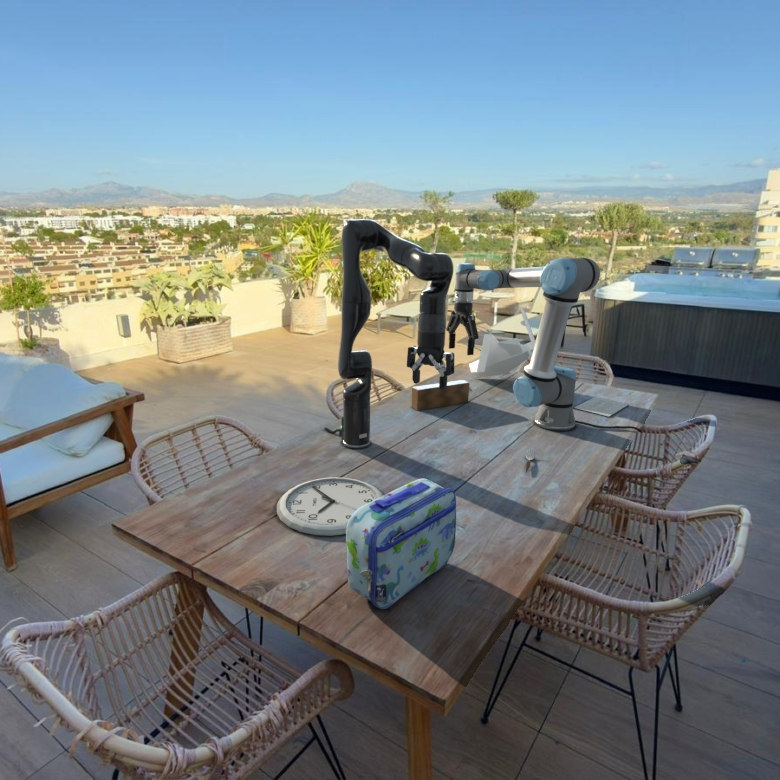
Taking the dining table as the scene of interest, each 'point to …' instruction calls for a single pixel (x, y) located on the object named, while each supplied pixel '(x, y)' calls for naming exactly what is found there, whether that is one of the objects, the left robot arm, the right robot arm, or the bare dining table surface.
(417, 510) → the lunch box
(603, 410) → the invitation card
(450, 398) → the bar
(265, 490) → the dining table surface
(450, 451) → the dining table surface
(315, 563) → the dining table surface
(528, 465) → the fork
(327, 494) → the wall clock
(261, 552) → the dining table surface
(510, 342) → the white plastic object
